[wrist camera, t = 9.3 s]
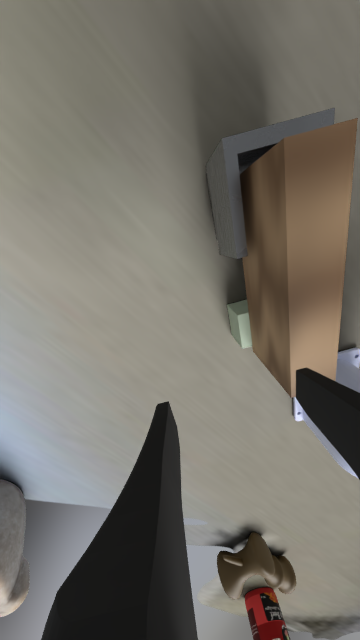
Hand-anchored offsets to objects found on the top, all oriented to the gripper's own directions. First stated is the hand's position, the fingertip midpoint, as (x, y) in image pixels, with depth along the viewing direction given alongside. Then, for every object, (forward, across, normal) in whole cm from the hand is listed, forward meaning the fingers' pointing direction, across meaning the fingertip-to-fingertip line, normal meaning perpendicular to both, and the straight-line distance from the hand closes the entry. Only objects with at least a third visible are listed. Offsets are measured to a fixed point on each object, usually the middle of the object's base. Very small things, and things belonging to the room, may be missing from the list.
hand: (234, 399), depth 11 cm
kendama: (+11, -1, +52) cm, 53 cm away
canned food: (+11, -1, +78) cm, 79 cm away
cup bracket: (+10, -6, -10) cm, 15 cm away
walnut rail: (+7, -6, -4) cm, 10 cm away
